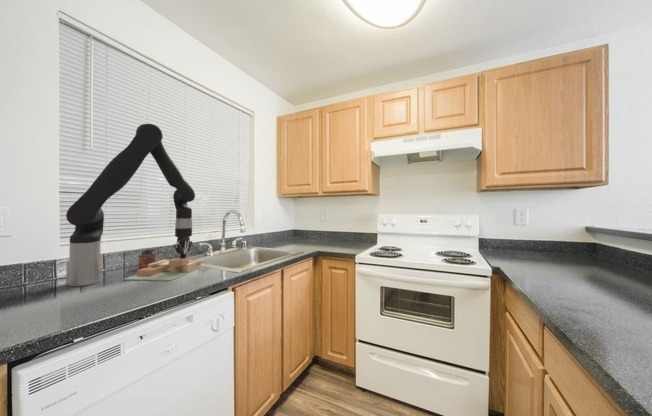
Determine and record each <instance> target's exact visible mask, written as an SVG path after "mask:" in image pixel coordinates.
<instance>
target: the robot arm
mask: <svg viewBox="0 0 652 416" xmlns="http://www.w3.org/2000/svg"><path fill="white" fill-rule="evenodd" d="M163 136H164V135H163V131H162V129H161V128H160V127H159V126H157V125H156V124H153V123H141V124H140V125H139V126H137V128H136V130H135V135H134V136H133V138H132V140H131V141H130V143H129V144H128V145H127V146H126V147H125V148H124V149H123V150H121V151H120V152H119V153H118V154H116V155H115V157H114V158H112V159H111V161H109V163H107V165H106V166H105V167H104V169H103V170H102V171H101V173H100V174H99V175H98V176H97V178H95V180H94V181H93V182H92V184H91V185H90V186H89V188H88V189H87V190H86V191H85V192H84V193H83V194H82V195H81V196H80V197H79V198H78V199H77V200H76V201H75V202H73V204H71V206H69V208H68V210H66V211H67V212H66V214H65V217H66V220H67V221H68V223H69V224H70V225H73V226H74V227H75V228H74V231H73V233H72V234H71V235H70V236H69V252H68V254H69V258H68V259H69V260H68V261H66V273H65V275H66V276H65V277H66V279H65V282H66V283H65V285H66V286H68V287H83V286H89V285H90V286H91V285H94V284H97V283H100V279H101V278H100V276H101V275H100V274H101V273H100V272H101V237H102V235H103V234H104V221H105V219H104V217H105V216H104V211H103V209H102V207H103V205H104V204H105V203H106V202H107V201H108V199H110V198H111V197H112V196H114V195H115V194H116V193H118V192H119V191H120V190H121V189H123V188H124V187H125V186H126V185H127V184H128V183H129V182H130V180H131V179H132V178H133V176H134V175H135V174H136V172H137V171H138V169H139V168H140V166H141V165H142V164H143V162H144V160H145V158H146V157H148V155H151V156H152V157H153V159H154V160H155V162H156V164H157V166H158V168H159V170H160V171H161V173H162V175H163V176H164V178H165V180H166V181H167V183H168V185H169V186H170V187H173V188H175V190H174V192H173V195H172V197H173V202H174V207H175V210H176V211H175V222H174V223H175V224H174V225H175V227H174V230H175V231H174V237H176V238H177V239H176V243H174V244H173V248H174V249H175V252H176V253H177V254H179V258H187V253H188V252H190V250H191V248H192V245H193V241H191V238H190V237H192V236H193V210H192V207H190V206H189V205H188V203H190V202H193V201H194V200H195V198H196V193H195V190H194V188H193V187H192V186H191V185H190V184H189V182H187V181H186V179H185V178H184V177H183V174H182V173H181V171H180V169H179V167H177V164H175V162H174V160H173V159H172V158H171V156H170V155H169V153H168V152H167V150H166V148H165V146H164V145H163V142H162V140H163V138H164V137H163Z"/></svg>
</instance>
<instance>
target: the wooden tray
mask: <svg viewBox="0 0 652 416" xmlns="http://www.w3.org/2000/svg"><path fill="white" fill-rule="evenodd" d="M170 260H171V259H162V260H159V261H156V262H154V263H151V264H148V268H160V272H188V274H190V273H192V272H194V271H196V270H198V269H200V268H202V265H201V264H202V260H200V259H189V264H187V265H185V266H169V261H170Z"/></svg>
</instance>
